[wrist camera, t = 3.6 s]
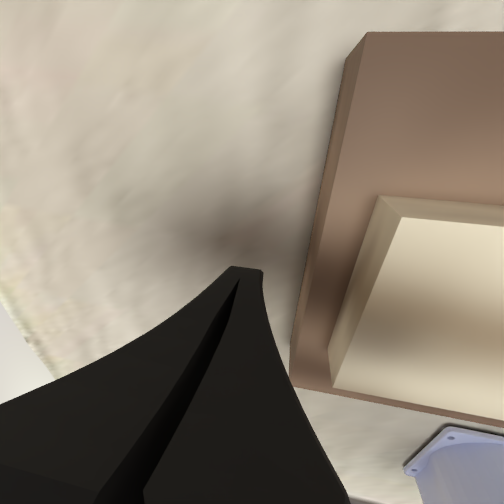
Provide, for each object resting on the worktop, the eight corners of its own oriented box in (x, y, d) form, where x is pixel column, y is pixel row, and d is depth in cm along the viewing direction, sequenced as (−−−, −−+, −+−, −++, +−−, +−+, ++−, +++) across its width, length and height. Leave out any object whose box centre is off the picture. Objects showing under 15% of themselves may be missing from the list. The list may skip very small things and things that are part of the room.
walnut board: (472, 375, 15) (508, 428, 12) (289, 344, 16) (288, 385, 14) (766, 64, 7) (1055, 31, 4) (345, 58, 8) (367, 31, 6)
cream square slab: (502, 378, 11) (541, 427, 9) (327, 348, 12) (332, 387, 10) (671, 220, 6) (803, 255, 5) (378, 194, 8) (401, 217, 6)
